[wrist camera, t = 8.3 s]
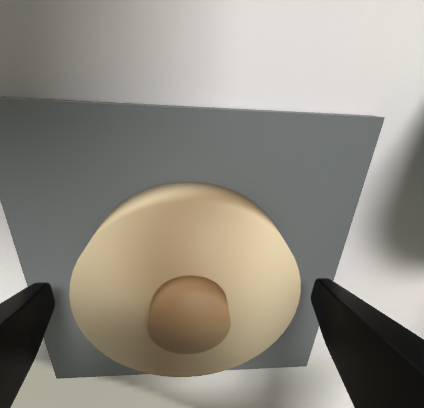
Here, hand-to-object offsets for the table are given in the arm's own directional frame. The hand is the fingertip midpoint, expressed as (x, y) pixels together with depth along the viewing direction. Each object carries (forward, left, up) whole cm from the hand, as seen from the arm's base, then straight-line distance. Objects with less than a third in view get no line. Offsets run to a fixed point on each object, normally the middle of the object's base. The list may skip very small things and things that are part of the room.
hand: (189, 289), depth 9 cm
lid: (0, 0, -1) cm, 1 cm away
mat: (0, 0, -2) cm, 2 cm away
